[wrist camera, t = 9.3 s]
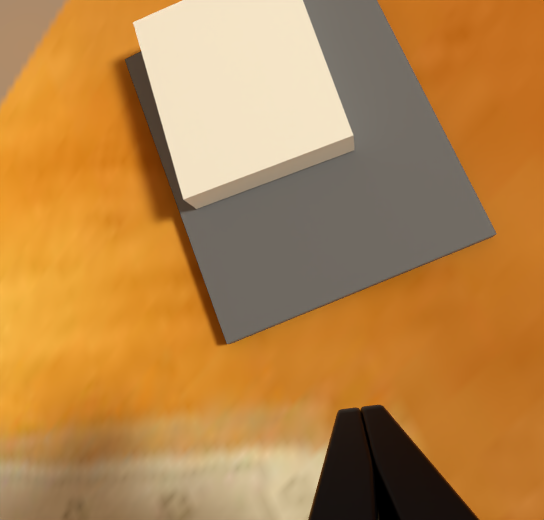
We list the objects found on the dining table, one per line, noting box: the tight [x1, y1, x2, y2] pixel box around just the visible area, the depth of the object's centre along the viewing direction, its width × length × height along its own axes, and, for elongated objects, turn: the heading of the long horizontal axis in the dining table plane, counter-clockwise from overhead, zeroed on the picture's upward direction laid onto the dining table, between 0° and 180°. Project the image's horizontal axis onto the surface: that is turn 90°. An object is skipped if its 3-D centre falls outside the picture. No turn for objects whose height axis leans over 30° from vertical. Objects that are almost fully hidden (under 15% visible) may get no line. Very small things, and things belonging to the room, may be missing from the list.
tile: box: [133, 0, 354, 209], centre depth 21 cm, size 2×8×9 cm
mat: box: [125, 0, 496, 344], centre depth 22 cm, size 15×12×1 cm
